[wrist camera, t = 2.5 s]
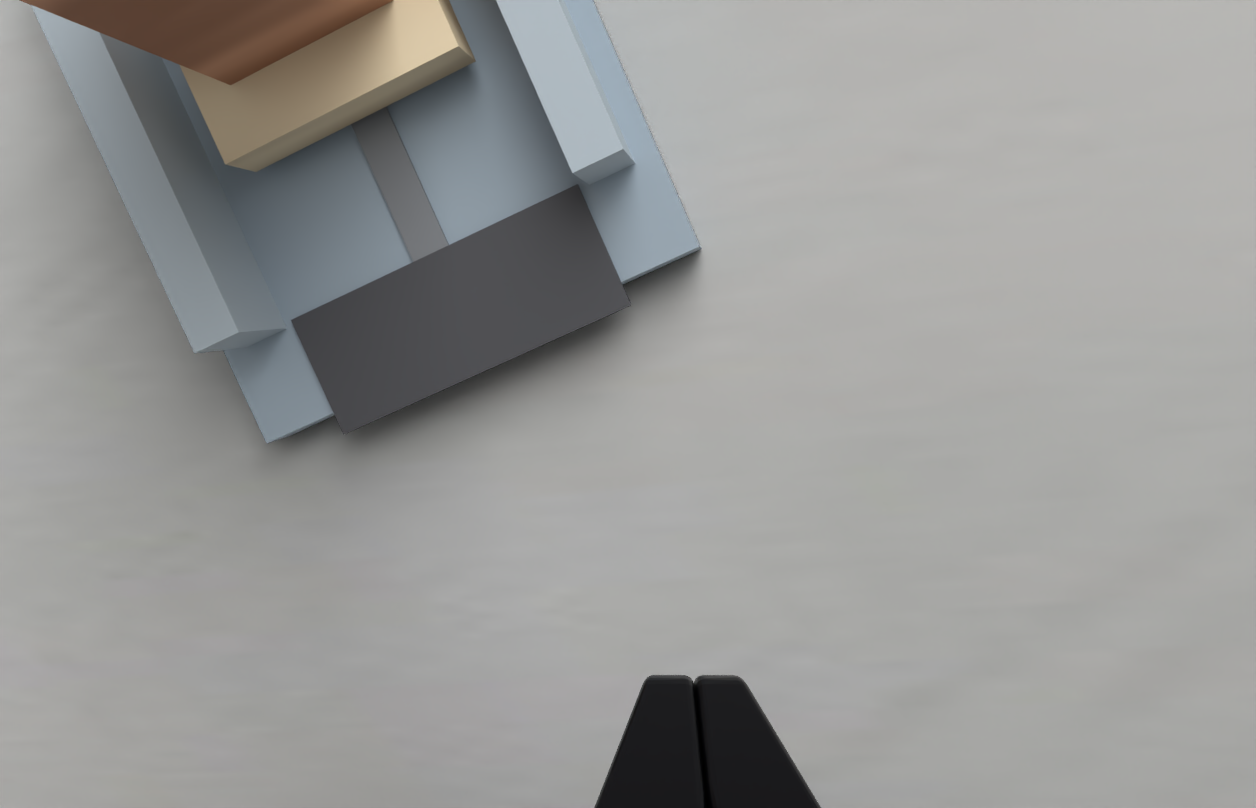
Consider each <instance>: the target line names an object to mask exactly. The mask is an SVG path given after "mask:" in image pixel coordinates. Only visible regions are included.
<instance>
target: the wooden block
mask: <svg viewBox="0 0 1256 808" xmlns="http://www.w3.org/2000/svg"><path fill="white" fill-rule="evenodd" d="M20 1H23V2H25V3H28V4H30V5H33V6H35V7H38V8H40V9H43V10H45V11H48V12H50V13H53V14H55V15H58V16H60V17H63V18H65V19H67V20H70V21H72V22H75V23H77V24H80V25H82V26H85V27H87V28H90V29H92V30H95V31H97V32H100V33H102V34H105V35H107V36H110V37H112V38H115V39H117V40H119V41H122V42H124V43H127V44H129V45H132V46H134V47H137V48H139V49H142V50H144V51H147V52H149V53H152V54H154V55H157V56H159V57H162V58H164V59H167V60H169V61H172V62H174V63H176V64H179V65H180V68H181V70H182V72H183V74H184V76H185V78H186V81H187V83H188V85H189V87H190V89H191V91H192V94H193V96H194V98H195V100H196V102H197V104H198V106H199V109H200V111H201V113H202V115H203V117H204V119H205V122H206V124H207V126H208V128H209V130H210V132H211V135H212V137H213V139H214V141H215V143H216V145H217V148H218V150H219V152H220V154H221V156H222V158H223V161H224V163H225V165H230V166H234V167H238V168H242V169H246V170H250V171H254V172H257V171H259V170H261V169H263V168H265V167H267V166H269V165H271V164H273V163H275V162H277V161H279V160H281V159H283V158H285V157H287V156H289V155H291V154H293V153H295V152H297V151H299V150H301V149H303V148H305V147H307V146H309V145H311V144H313V143H315V142H317V141H319V140H321V139H323V138H325V137H327V136H329V135H331V134H333V133H335V132H337V131H339V130H341V129H343V128H344V127H346V126H348V125H350V124H352V123H354V122H356V121H358V120H360V119H362V118H364V117H366V116H368V115H370V114H372V113H374V112H376V111H378V110H380V109H382V108H384V107H386V106H388V105H390V104H392V103H394V102H396V101H398V100H400V99H402V98H404V97H406V96H408V95H410V94H412V93H414V92H416V91H418V90H420V89H422V88H424V87H426V86H428V85H430V84H432V83H434V82H436V81H438V80H440V79H442V78H444V77H446V76H448V75H450V74H452V73H454V72H456V71H458V70H460V69H462V68H464V67H466V66H468V65H470V64H472V63H474V62H476V60H475V58H474V55H473V53H472V51H471V49H470V46H469V44H468V42H467V40H466V37H465V35H464V33H463V31H462V28H461V26H460V24H459V22H458V19H457V17H456V15H455V13H454V10H453V8H452V6H451V4H450V1H449V0H20Z"/></svg>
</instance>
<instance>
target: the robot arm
mask: <svg viewBox="0 0 1256 808" xmlns="http://www.w3.org/2000/svg"><path fill="white" fill-rule="evenodd" d="M595 808H821V807H820V805H819V804H818V802H817V800H816V799H815V797H814V795H813V794H812V792H811V790H810V789H809V787H808V785H807V784H806V782H805V780H804V779H803V777H802V775H801V774H800V772H799V770H798V769H797V767H796V765H795V764H794V762H793V760H792V759H791V757H790V755H789V754H788V752H787V750H786V749H785V747H784V745H783V744H782V742H781V740H780V739H779V737H778V735H777V734H776V732H775V730H774V729H773V727H772V725H771V724H770V722H769V721H768V719H767V717H766V716H765V714H764V712H763V711H762V709H761V707H760V706H759V704H758V702H757V701H756V699H755V697H754V696H753V694H752V692H751V691H750V689H749V687H748V686H747V684H746V683H745V682H744V681H743V679H741V678H740V677H738V676H734V675H702V676H699V677H697V678H696V679H695V681H694V683H693V681H692V679H691V678H690V677H688V676H685V675H651V676H649V677H647V679H646V680H645V681H644V683H643V685H642V688H641V690H640V693H639V695H638V698H637V700H636V703H635V706H634V708H633V711H632V713H631V716H630V718H629V721H628V723H627V726H626V729H625V731H624V734H623V736H622V739H621V741H620V744H619V746H618V749H617V752H616V754H615V757H614V759H613V762H612V764H611V767H610V769H609V772H608V775H607V777H606V780H605V782H604V785H603V787H602V790H601V792H600V795H599V797H598V800H597V803H596V805H595Z"/></svg>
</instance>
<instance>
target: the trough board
mask: <svg viewBox="0 0 1256 808" xmlns="http://www.w3.org/2000/svg"><path fill="white" fill-rule="evenodd" d="M449 1H450V4H451V6H452V8H453V10H454V13H455V15H456V17H457V19H458V22H459V24H460V26H461V28H462V31H463V33H464V35H465V37H466V40H467V42H468V44H469V46H470V49H471V51H472V53H473V55H474V58H475V60H476V62H474V63H472V64H470V65H468V66H466V67H464V68H462V69H460V70H458V71H456V72H454V73H452V74H450V75H448V76H446V77H444V78H442V79H440V80H438V81H436V82H434V83H432V84H430V85H428V86H426V87H424V88H422V89H420V90H418V91H416V92H414V93H412V94H410V95H408V96H406V97H404V98H402V99H400V100H398V101H396V102H394V103H392V104H390V105H388V106H386V107H384V108H382V109H380V110H378V111H376V112H374V113H372V114H370V115H368V116H366V117H364V118H362V119H360V120H358V121H356V122H354V123H352V124H350V125H348V126H346V127H344V128H343V129H341V130H339V131H337V132H335V133H333V134H331V135H329V136H327V137H325V138H323V139H321V140H319V141H317V142H315V143H313V144H311V145H309V146H307V147H305V148H303V149H301V150H299V151H297V152H295V153H293V154H291V155H289V156H287V157H285V158H283V159H281V160H279V161H277V162H275V163H273V164H271V165H269V166H267V167H265V168H263V169H261V170H259V171H257V172H254V171H250V170H246V169H242V168H238V167H234V166H230V165H225V163H224V161H223V158H222V156H221V154H220V152H219V150H218V148H217V145H216V143H215V141H214V139H213V137H212V135H211V132H210V130H209V128H208V126H207V124H206V122H205V119H204V117H203V115H202V113H201V111H200V109H199V106H198V104H197V102H196V100H195V98H194V96H193V94H192V91H191V89H190V87H189V85H188V83H187V81H186V78H185V76H184V74H183V72H182V70H181V68H180V65H179V64H176V63H174V62H172V61H169V60H167V59H164V58H162V57H159V56H157V55H154V54H152V53H149V52H147V51H144V50H142V49H139V48H137V47H134V46H132V45H129V44H127V43H124V42H122V41H119V40H117V39H115V38H112V37H110V36H107V35H105V34H102V33H100V32H97V31H95V30H92V29H90V28H87V27H85V26H82V25H80V24H77V23H75V22H72V21H70V20H67V19H65V18H63V17H60V16H58V15H55V14H53V13H50V12H48V11H45V10H43V9H40V8H38V7H35V6H33V5H31V7H32V9H33V11H34V13H35V15H36V17H37V19H38V22H39V24H40V26H41V28H42V30H43V32H44V34H45V36H46V39H47V41H48V43H49V45H50V47H51V49H52V51H53V54H54V56H55V58H56V60H57V62H58V64H59V66H60V68H61V71H62V73H63V75H64V77H65V79H66V81H67V83H68V85H69V88H70V90H71V92H72V94H73V96H74V98H75V100H76V102H77V105H78V107H79V109H80V111H81V113H82V115H83V117H84V120H85V122H86V124H87V126H88V128H89V130H90V132H91V134H92V137H93V139H94V141H95V143H96V145H97V147H98V149H99V151H100V154H101V156H102V158H103V160H104V162H105V164H106V166H107V168H108V171H109V173H110V175H111V177H112V179H113V181H114V183H115V186H116V188H117V190H118V192H119V194H120V196H121V198H122V200H123V203H124V205H125V207H126V209H127V211H128V213H129V215H130V217H131V220H132V222H133V224H134V226H135V228H136V230H137V232H138V234H139V237H140V239H141V241H142V243H143V245H144V247H145V249H146V251H147V254H148V256H149V258H150V260H151V262H152V264H153V266H154V269H155V271H156V273H157V275H158V277H159V279H160V281H161V283H162V286H163V288H164V290H165V292H166V294H167V296H168V298H169V300H170V303H171V305H172V307H173V309H174V311H175V313H176V315H177V317H178V320H179V322H180V324H181V326H182V328H183V330H184V332H185V335H186V337H187V339H188V341H189V343H190V345H191V347H192V349H193V352H194V353H202V352H211V351H220V350H223V351H224V354H225V356H226V358H227V360H228V362H229V364H230V366H231V369H232V371H233V373H234V375H235V377H236V379H237V381H238V383H239V386H240V388H241V390H242V392H243V394H244V396H245V398H246V401H247V403H248V405H249V407H250V409H251V411H252V413H253V416H254V418H255V420H256V422H257V424H258V426H259V428H260V430H261V433H262V435H263V437H264V439H265V441H266V443H270V442H273V441H276V440H279V439H282V438H285V437H288V436H290V435H293V434H295V433H297V432H299V431H301V430H304V429H306V428H308V427H310V426H312V425H315V424H317V423H319V422H321V421H323V420H326V419H328V418H330V417H332V416H334V415H335V417H336V419H337V421H338V424H339V426H340V428H341V430H342V432H343V434H346V433H349V432H351V431H353V430H355V429H357V428H360V427H362V426H364V425H366V424H369V423H371V422H373V421H375V420H377V419H380V418H382V417H384V416H386V415H389V414H391V413H393V412H395V411H397V410H400V409H402V408H404V407H406V406H408V405H411V404H413V403H415V402H417V401H420V400H422V399H424V398H426V397H428V396H431V395H433V394H435V393H437V392H440V391H442V390H444V389H446V388H448V387H451V386H453V385H455V384H457V383H460V382H462V381H464V380H466V379H468V378H471V377H473V376H475V375H477V374H480V373H482V372H484V371H486V370H488V369H491V368H493V367H495V366H497V365H500V364H502V363H504V362H506V361H508V360H511V359H513V358H515V357H517V356H520V355H522V354H524V353H526V352H528V351H531V350H533V349H535V348H537V347H540V346H542V345H544V344H546V343H548V342H551V341H553V340H555V339H557V338H560V337H562V336H564V335H566V334H568V333H571V332H573V331H575V330H577V329H579V328H582V327H584V326H586V325H588V324H591V323H593V322H595V321H597V320H599V319H602V318H604V317H606V316H608V315H611V314H613V313H615V312H617V311H619V310H622V309H624V308H626V307H628V306H631V303H630V301H629V298H628V296H627V294H626V292H625V289H624V287H623V284H625V283H627V282H629V281H632V280H634V279H636V278H638V277H640V276H643V275H645V274H647V273H649V272H651V271H654V270H656V269H658V268H660V267H662V266H665V265H667V264H669V263H671V262H673V261H676V260H678V259H680V258H682V257H684V256H687V255H689V254H691V253H693V252H695V251H698V250H700V249H702V248H701V246H700V244H699V242H698V239H697V237H696V235H695V232H694V230H693V228H692V226H691V223H690V221H689V219H688V216H687V214H686V212H685V209H684V207H683V205H682V203H681V200H680V198H679V196H678V193H677V191H676V189H675V186H674V184H673V182H672V180H671V177H670V175H669V173H668V170H667V168H666V166H665V164H664V161H663V159H662V157H661V154H660V152H659V150H658V147H657V145H656V143H655V141H654V138H653V136H652V134H651V131H650V129H649V127H648V124H647V122H646V120H645V118H644V115H643V113H642V111H641V108H640V106H639V104H638V102H637V99H636V97H635V95H634V92H633V90H632V88H631V85H630V83H629V81H628V79H627V76H626V74H625V72H624V69H623V67H622V65H621V63H620V60H619V58H618V56H617V53H616V51H615V49H614V46H613V44H612V42H611V40H610V37H609V35H608V33H607V30H606V28H605V26H604V23H603V21H602V19H601V17H600V14H599V12H598V10H597V7H596V5H595V3H594V1H593V0H449Z"/></svg>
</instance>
